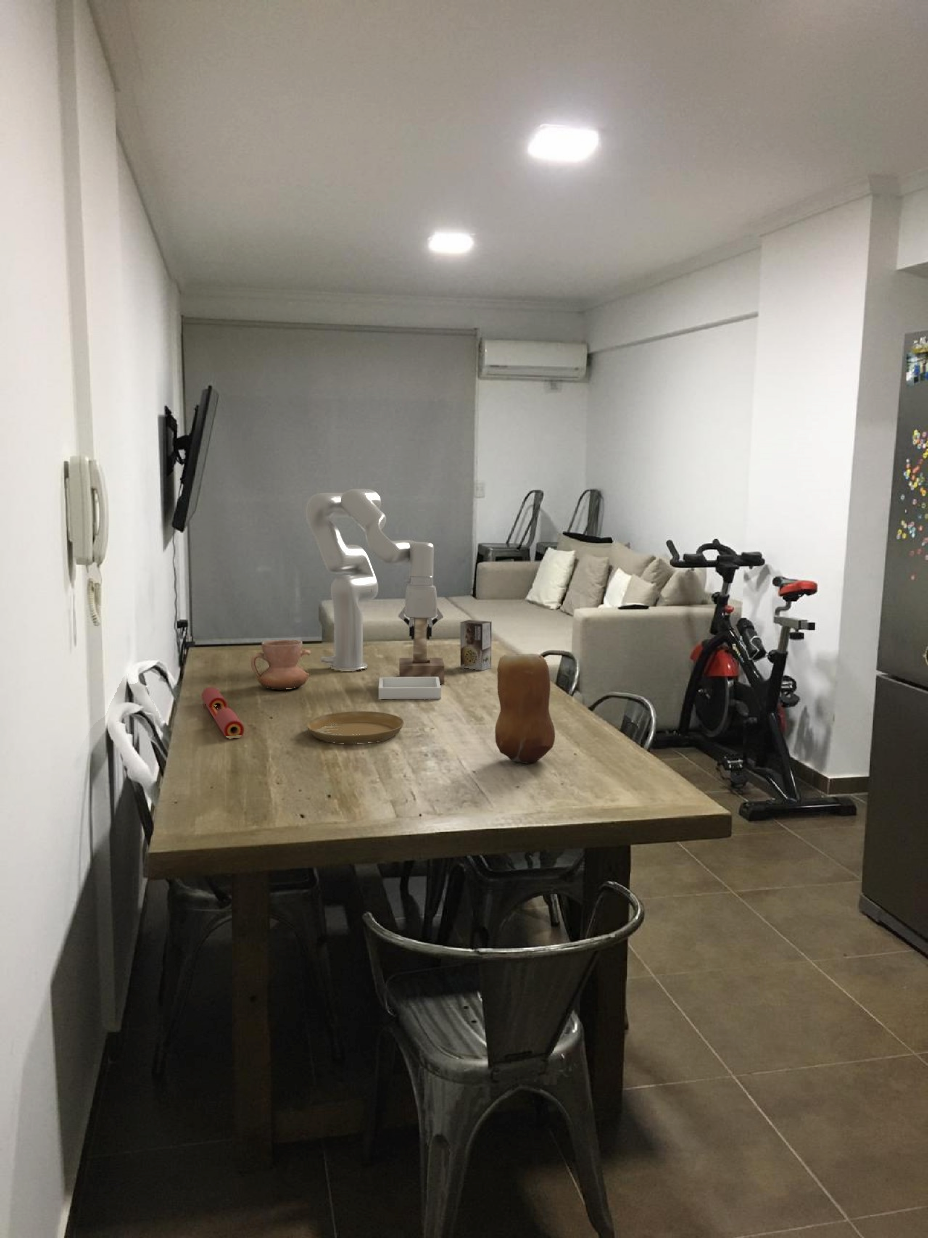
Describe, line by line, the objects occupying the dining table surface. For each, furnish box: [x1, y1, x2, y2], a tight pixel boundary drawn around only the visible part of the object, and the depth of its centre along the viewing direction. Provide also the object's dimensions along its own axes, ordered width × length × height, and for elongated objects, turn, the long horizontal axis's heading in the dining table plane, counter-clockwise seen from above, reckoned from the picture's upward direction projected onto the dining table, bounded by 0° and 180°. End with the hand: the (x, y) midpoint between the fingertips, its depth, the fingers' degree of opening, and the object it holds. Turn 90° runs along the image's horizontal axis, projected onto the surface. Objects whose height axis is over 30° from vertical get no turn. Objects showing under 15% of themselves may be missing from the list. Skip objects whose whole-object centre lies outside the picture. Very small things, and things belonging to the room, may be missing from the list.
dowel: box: [412, 618, 429, 663], centre depth 307 cm, size 4×4×15 cm
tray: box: [378, 676, 442, 701], centre depth 288 cm, size 18×16×4 cm
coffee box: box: [459, 619, 493, 671], centre depth 328 cm, size 9×6×16 cm
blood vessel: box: [201, 686, 245, 737], centre depth 255 cm, size 42×5×5 cm, turn 22°
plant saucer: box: [306, 710, 405, 745], centre depth 242 cm, size 24×24×3 cm
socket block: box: [398, 657, 445, 685], centre depth 308 cm, size 14×14×6 cm
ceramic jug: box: [250, 639, 311, 690], centre depth 295 cm, size 18×14×14 cm
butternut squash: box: [494, 652, 556, 765], centre depth 217 cm, size 14×13×25 cm
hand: (420, 638), depth 307 cm, fingers closed on dowel, 4 cm apart
